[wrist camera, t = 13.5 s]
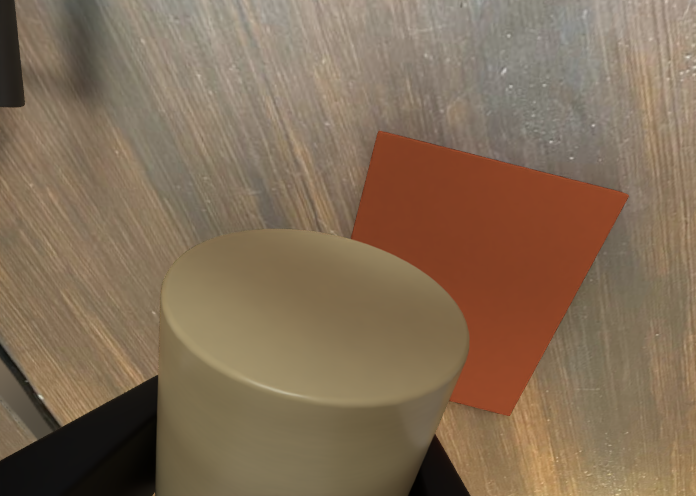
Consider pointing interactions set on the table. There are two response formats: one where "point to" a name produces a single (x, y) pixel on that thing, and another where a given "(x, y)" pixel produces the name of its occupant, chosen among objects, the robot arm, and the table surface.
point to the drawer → (10, 58)
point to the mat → (487, 249)
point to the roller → (300, 367)
